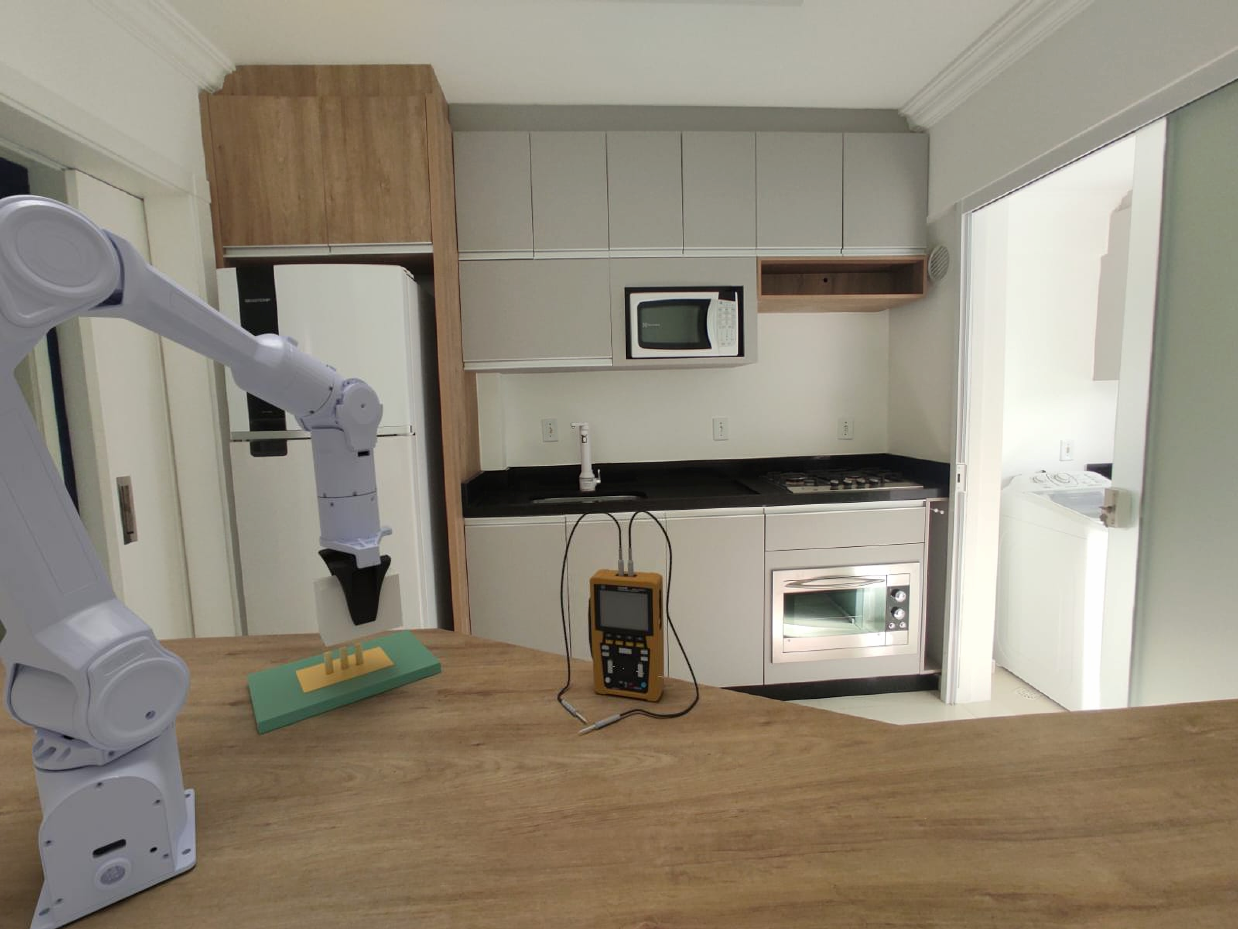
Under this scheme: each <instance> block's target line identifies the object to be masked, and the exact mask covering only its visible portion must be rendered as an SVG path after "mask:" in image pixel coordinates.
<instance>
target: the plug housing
mask: <svg viewBox="0 0 1238 929" xmlns="http://www.w3.org/2000/svg"><path fill="white" fill-rule="evenodd" d="M312 581H313V588H314V589H313V590H314V591H313V592H314V599H315V607H316V617H317V618H316V619H317V627H318V634H319V636H320V637H321V640H322V641H323V643H324V645H325V647H326V648H327V647H331V646H334V645H335V646H336V645H339V644H342V643H346V642H351V641H353V640H358V639H361V638H363V637H367V636H372V635H375V634H378V633H382V632H386V631H389V630H394V629H397V628H400V627H403V626H404V621H403V620H404V619H403V611H402V608H403V607H402V598H401V597H402V596H401V587H400V586H401V585H400V576H399V572H397V571H396V570H395V569H394V568H392V566H391V565H390V566H389V568H388V570H387V572H386V574H385V577H384V580H383V583H382V587H381V592H380V598H379V606H378V612H377V617H376V621H373V622H369V623H365V624H362V625H358V626H355V625H354V623H353V621H352V619H351V616H350V613H349V610H348V606H347V602H346V598H345V595H344V592H343V589H342V587H341V585H340V582H339V580H338V579H337V577H336V575H334V576H332V575H330V576H325V577H320V578H316V579H313V580H312Z"/></svg>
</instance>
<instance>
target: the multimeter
mask: <svg viewBox="0 0 1238 929" xmlns="http://www.w3.org/2000/svg"><path fill="white" fill-rule="evenodd" d="M592 513H600V514H601V513H602V514H603V515H604V514H605V515H607V516H609V517H610V518H611V519H612V520H613V521H614V522H615V524H616V526H617V530H618V561H617V570H613V569H608V568H606V569H605V568H601V569H599V570H597V571H596V572H595V573H594V574H593V575H592V576H591V577H590V578H589V599H588V607H587V621H588V622H587V626H588V628H587V629H588V630H587V631H588V644H589V651H590V656H591V660H592V668H593V670H592V671H593V690H595V692H596V693H597V694H601V695H607V694H608V695H616V696H623V697H630V698H637V699H642V700H643V699H644V700H647V702H657V701H658V700H659V699H660V697H661V695H662V692H663V690H664V688H665V647H664V646H665V642H664V641H665V638H664V635H665V633H664V632H665V631H664V628H665V627H664V622H665V621H664V587H663V586H664V582H663V581H664V579H663V575H662V574H660V573H658V572H643V571H641V572H640V571H634V560H633V548H632V525H633V521H634V520H635V517H636V516H637V515H638V514H640V513H643V514H647V515H648V516H649V517H650V518H652V519H653V520H654V521H655V522H656V523H657V525H658V526H659V528H660V529H661V530H662V532H663V534H664V537H665V539H666V541H667V542H666V543H667V545H668V550H669V551H668V552H669V565H668V566H669V569H668V570H669V571H668V579H667V580H668V581H667V591H666V600H665V612H666V613H665V614H666V618H667V620H668V623H669V626H670V628H671V631H672V632H673V634H674V637H675V639H676V641H677V643H678V646H679V648H680V650H681V652H682V655H683V656H684V659H685V661H686V664H687V666H688V669H689V671H690V672H689V673H690V674H691V677H692V679H693V683H694V687H695V691H696V692H695V693H696V696H695V699H694V701H693V702H692V703H691V705H689V707H687V708H686V709H685V710H683V711H680V712H676V713H670V714H669V713H668V714H658V713H655V712H654V713H653V712H651V711H647V710H645V709H642V708H635V709H630V710H628V711H625V712H622V713H620V714H614V715H612V716H609V717H606V718H604V719H601V720H599V721H595V722H594V724H593V725H591V726H588V727H586V728H583V729H581V730H579V731H578V732H577V734H580V733H583V732H586V731H588V730H591V729H593V728H595V729H596V730H597V729H599V728H600V727H603V726H605V725H608V724H610V723H612V722H615V721H617V720H619V719H620V718H621V717H624V716H626V715H629V714H631V713H635V712H636V713H637V712H639V713H644V714H645V715H649V716H653V717H656V718H673V717H679V716H682V715H684V714H687V713H688V712H690V711H691V710H692V709H693V707H694V706H696V704H697V703H698V701H699V697H700V692H699V686H698V682H697V679H696V676H695V673H694V670H693V668H692V665H691V664H690V661H689V659H688V658H689V657H688V656H687V653H686V652H685V649H684V647H683V644H682V642H681V641H680V639H679V636H678V633H677V631H676V629H675V627H674V624H673V622H672V619H671V616H670V611H669V610H670V609H669V601H670V589H671V582H672V581H671V580H672V572H673V570H672V568H673V553H672V552H673V551H672V549H673V548H672V544H671V541H670V539H669V536H668V533H667V531H666V529H665V527H664V526H663V525H662V523H661V522H660V521H659V519H658V518H657V517H656V516H655V515H653V514H652V513H651V512H649V511H647V510H644V509H639V510H637V511H635V512H634V513H633V515H632V516H631V518H630V521H629V525H628V552H627V553H628V561H627V570H625V567H624V566H625V563H624V559H623V547H622V529H621V526H620V523H619V521H618V520H617V519H616V518H615V517H614V516H613V515H612V514H611V513H609V512H607V511H605V510H600V509H592V510H588V511H586V512H584V513H582V515H581V516H579V518H578V519H577V520H576V522H575V523H574V525H573V527H572V529H571V531H570V534H569V538H568V540H567V543H566V547H565V551H564V556H563V560H562V561H563V562H562V568H561V575H560V576H561V578H560V592H559V594H560V596H559V597H560V609H561V610H560V611H561V618H562V619H561V620H562V629H563V634H564V635H563V636H564V644H565V650H566V659H567V660H566V661H567V662H566V663H567V683H566V685H565V687H563V688H561V690H560V691H559V693H558V694H557V697H556V698H557V700H558V701H560V703H561V704H562V706H564V707H565V708H566V709H567V710H568V711H569V712H570V713H572V714H573V716H574V717H577V716H578V717H579V718H580V719H581V720H582V721H583V722H586V723H588V721H587V719H586V718H585V717H583V716H582V715H581V714H580V712H579V709H576V708H575V707H573V706H572V705H571V704H570V703H569V702H568V701H566V700H564V699H562V698H561V697H560V696H562V694H563V692H565V691H567V689H568V688H569V686H570V684H571V683H570V682H571V660H570V652H569V643H568V635H567V628H566V620H565V612H564V611H565V610H564V595H563V593H564V577H565V569H566V563H567V562H566V561H567V556H568V552H569V547H570V544H571V542H572V537H573V535H574V532H575V531H576V528H577V527H578V525H579V523H580V521H582V520H583V518H584V517H586V516H587V515H590V514H592ZM613 666H615V667H613ZM623 668H624V669H623ZM636 671H639V672H636ZM643 673H644V674H643ZM658 676H663V677H664V678H662V677H658ZM696 702H697V703H696Z"/></svg>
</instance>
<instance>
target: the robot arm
mask: <svg viewBox="0 0 1238 929" xmlns="http://www.w3.org/2000/svg"><path fill="white" fill-rule="evenodd" d="M74 317H76V318H77V317H78V318H79V317H80V318H81V317H82V318H83V317H84V318H104V319H106V318H109V319H123V320H126V321H129V322H132V323H133V324H135V325H138V326H139V327H142V328H143V329H146V330H148V331H151V332H153V333H154V334H156V335H159V336H161V337H162V338H163V337H164V338H165V339H167V340H169V341H172V342H174V343H176V344H178V345H180V346H183V347H185V348H187V349H188V350H191V351H193V352H195V353H198V354H199V355H201V356H204V357H206V358H208V359H210V360H213V361H215V362H217V363H219V364H221V365H223V366H226V367H227V368H229V369H230V372H231V375H232V376H231V377H232V379H233V381H234V384H235V385H236V386H237V388H239V389H240V390H243V391H245V392H246V393H249V394H251V396H252V395H253V396H254V397H256V398H258V399H261V400H262V401H264V402H266V403H268V404H270V405H273V406H274V407H276V408H279V409H281V410H282V411H285V412H287V413H289V414H290V415H293V417H294V420H295V422H296V423H297V425H298V426H299V428H301V430H302V431H304V432H306V433H308V432H310V442H311V451H312V458H313V459H312V462H313V470H314V479H315V481H314V482H315V489H316V499H317V509H318V519H319V528H320V529H319V530H320V536H319V537H318V540H319V545H320V546H321V547H322V548H323V549H320V550H318V552H317V553H318V556H320V557H321V559H322V561H323V562H324V563H325V565H326V567H327V569H328V571H329V572H330V576H334V575H336V577H337V579H338V580H339V582H340V585H341V587H342V589H343V592H344V595H345V598H346V602H347V606H348V610H349V613H350V616H351V619H352V621H353V623H354V625H355V626H358V625H362V624H365V623H369V622H373V621H376V617H377V612H378V606H379V598H380V592H381V587H382V583H383V580H384V577H385V574H386V572H387V570H388V568H389V566H390V567H391V564H392V557H391V556H389V555H388V554H382V555H381V554H380V553H381V552H380V543H381V541H382V539H383V538H384V537H386V536H391V535H393V528H392V527H391V526H389V525H382V526H381V522H380V521H381V519H380V511H379V508H380V507H379V498H378V497H379V496H378V487H377V478H376V477H377V476H376V467H375V466H376V465H375V463H376V462H375V455H374V454H375V453H374V449H375V448H376V447H377V446H376V444H377V443H378V435H377V434H378V427H379V426H380V424H381V421H382V420H383V415H384V404H383V403H380V399H379V397H378V395H377V393H376V391H375V390H374V389H373V388H372V386H370V385H369V384H368V383H367V382H365V381H364V380H362V379H360V378H355V377H354V378H351V377H349V378H348V377H347V378H344V377H343V376H342V375H341V374H340V373H338V372H337V368H336V367H335V366H333V365H332V364H330V363H322V362H321V361H319V360H318V359H316V358H315V357H313V356H312V355H310V354H308V353H307V352H305V351H304V350H302V349H301V348H299V347H298V345H299V341H298V340H296V339H295V338H293V337H292V336H290V335H288V334H285V335H278V334H276V333H264V334H259V335H256V336H255V335H253V334H252V333H250V331H249V330H246V329H245V328H243V327H242V326H241V325H239V324H238V323H236V322H234V321H233V320H231V319H230V318H229V317H227V316H226V315H225V314H223V313H221V311H218V309H215V308H214V307H213V306H211V305H210V304H208V303H207V302H205V301H204V300H202V299H201V298H199V297H198V296H197V295H195V294H194V293H193V292H191V291H190V290H188V289H186V288H185V287H183V286H182V285H180V284H179V283H178V282H176V281H175V280H174V279H171V278H170V277H169V276H167V275H166V274H164V273H163V272H162V271H160V270H158V269H157V268H156V267H154V266H153V265H151V264H150V263H149V262H148V261H146V259H145V258H144V257H143V256H142V255H141V253H140V252H139V251H138V249H137V248H135V246H134V245H133V244H132V242H130V241H129V240H128V239H126V238H125V237H123V236H121V235H120V234H117V233H115V232H114V231H113V232H112V231H111V230H108V229H106V228H102V229H101V227H100V226H99V225H98V224H97V223H95V222H94V221H93V220H92V219H91V218H89V217H88V216H87V215H85V214H84V213H83V212H81V211H79V210H78V209H76V208H74V207H73V206H70V205H68V204H66V203H63V202H62V201H59V200H55V199H54V198H49V197H45V196H41V195H33V194H17V195H16V194H15V195H10V196H7V197H6V196H5V197H2V198H1V199H0V621H1V623H2V625H3V627H4V629H5V631H6V633H5V634H4V637H3V638H2V640H1V642H0V659H1V660H2V663H3V665H4V669H5V680H4V686H3V691H2V702H3V706H4V709H5V710H6V712H7V714H8V715H9V716H10V717H11V718H12V719H13V720H14V721H16V722H18V723H19V724H22V725H25V726H28V727H33V732H34V733H33V734H34V737H33V741H32V742H33V743H32V747H31V759H32V762H33V763H32V764H33V769H34V774H35V781H36V786H37V790H38V797H39V803H40V808H41V813H42V821H41V823H40V826H39V830H38V848H39V855H40V860H41V866H42V870H43V876H44V880H43V884H42V887H41V890H40V894H39V898H38V901H37V903H36V907H35V910H34V914H33V917H32V920H31V924H30V928H29V929H58V928H60V927H62V926H63V925H66V924H69V923H72V922H73V921H75V920H78V919H80V918H82V917H85V916H87V915H90V914H92V913H93V912H96V911H99V910H101V909H102V908H105V907H107V906H109V905H112V904H114V903H116V902H118V901H120V900H123V899H125V898H127V897H130V896H132V895H134V894H136V893H139V892H142V891H144V890H145V889H147V888H150V887H152V886H154V885H157V884H159V883H161V882H164V881H166V880H168V879H170V878H172V877H175V876H177V875H179V874H182V873H184V872H186V871H188V870H190V869H192V868H193V867H194V866H195V864H196V863H197V849H196V848H197V846H196V845H197V843H196V842H197V841H196V840H197V839H196V799H195V798H196V797H195V796H196V794H195V789H194V788H188V789H185V787H184V780H183V774H182V768H181V767H182V766H181V760H180V752H179V746H178V739H177V732H176V721H175V719H176V718H177V716H178V715H179V714H180V712H181V711H182V710H183V707H184V706H185V703H186V702H187V699H188V697H189V693H190V689H191V674H190V670H189V667H188V665H187V664H186V663H185V661H184V660H183V659H182V658H181V657H180V656H179V655H177V654H175V653H174V652H172V651H170V650H168V649H166V648H165V647H163V645H161V643H160V642H159V640H158V639H157V637H156V635H155V632H154V630H153V627H151V626H150V625H149V624H148V623H147V622H146V621H144V620H143V619H142V618H141V617H140V616H139V615H138V614H136V613H135V612H134V611H133V610H132V609H131V608H129V607H128V606H126V604H124V603H123V602H122V601H121V600H120V599H119V597H118V596H117V593H116V592H115V590H114V587H113V586H112V583H111V582H110V579H109V577H108V575H107V573H106V571H105V568H104V566H103V565H102V562H101V560H100V558H99V556H98V552H96V549H95V546H94V545H93V543H92V540H91V538H90V536H89V534H88V532H87V530H86V528H85V525H84V524H83V523H84V522H83V521H82V518H81V517H80V515H79V512H78V511H77V508H76V506H75V504H74V502H73V500H72V498H71V496H70V494H69V493H70V492H69V491H68V489H67V486H66V485H65V483H64V481H63V478H62V476H61V474H60V472H59V470H58V467H57V465H56V462H55V461H54V459H53V456H52V454H51V452H50V450H49V448H48V446H47V444H46V441H45V439H44V438H43V436H42V432H41V431H40V429H39V427H38V425H37V422H36V420H35V418H34V416H33V413H32V412H31V410H30V408H29V405H28V403H27V401H26V399H25V396H24V395H23V392H22V390H21V388H20V386H19V383H18V381H17V379H16V377H15V374H14V372H15V369H16V367H17V366H18V365H19V364H20V363H21V362H22V361H23V359H24V358H26V356H27V355H28V354H29V353H30V352H31V351H32V350H33V349H34V348H35V347H36V346H37V344H38V343H39V342H40V341H41V340H42V339H43V338H44V337H45V336H46V335H47V334H48V333H49V331H50V330H51V329H52V328H54V327H56V326H58V325H60V324H62V323H64V322H66V321H68V320H70V319H72V318H74Z"/></svg>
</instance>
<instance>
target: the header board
mask: <svg viewBox="0 0 1238 929" xmlns="http://www.w3.org/2000/svg"><path fill="white" fill-rule="evenodd" d="M405 630H406V631H404V630H402V631H397V632H394V633H391V634H388V635H384V636H380V637H376V638H372V639H370V640H366V641H363V642H360V641H359V642H356V643H354V644H352V645H349V646H341V647H339V648H337V649H335V650H327V651H324V652H323V653H320V654H317V655H313V656H310V657H307V658H302V659H299V660H295V661H292V662H289V663H285V664H281V665H278V666H274V667H270V668H267V669H264V670H259V671H257V672H253V673H250V674H247V675H246V676H247V678H246V679H247V685H248V690H249V694H250V698H251V699H250V700H251V704H252V708H253V712H254V717H255V721H256V725H257V732H258V734H259V735H261V734H265V733H267V732H270V731H273V730H277V729H279V728H282V727H285V726H288V725H290V724H294V723H296V722H299V721H302V720H305V719H309V718H311V717H313V716H317V715H320V714H323V713H326V712H328V711H331V710H335V709H337V708H340V707H342V706H346V705H349V704H351V703H355V702H357V701H361V700H364V699H366V698H370V697H372V696H376V695H378V694H381V693H384V692H387V691H390V690H392V689H395V688H398V687H401V686H402V687H403V686H404V685H407V684H410V683H413V682H416V681H419V680H422V679H424V678H427V677H430V676H434V675H436V674H440V673H441V672H442V664H441V663H442V662H441V661H440V660H439V659H438V658H437V657H436V656H435V655H434V654H433V653H432V652H431V651H430V650H429V649H428V648H427V647H426V646H425V645H424V644H423V643H422V642H421V641H420V640H419V639H418V638H417V637H416V636H415V634H413V633H412V632H411V631H410V630H409V629H405Z"/></svg>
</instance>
